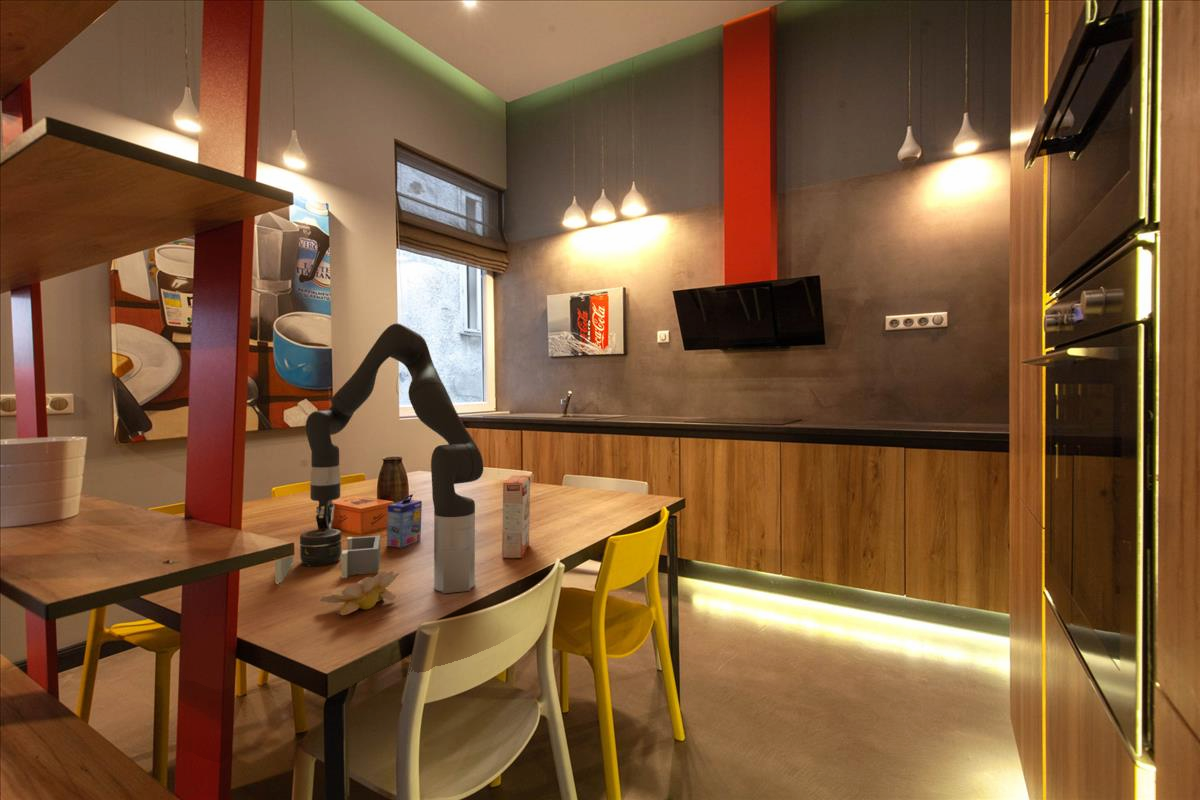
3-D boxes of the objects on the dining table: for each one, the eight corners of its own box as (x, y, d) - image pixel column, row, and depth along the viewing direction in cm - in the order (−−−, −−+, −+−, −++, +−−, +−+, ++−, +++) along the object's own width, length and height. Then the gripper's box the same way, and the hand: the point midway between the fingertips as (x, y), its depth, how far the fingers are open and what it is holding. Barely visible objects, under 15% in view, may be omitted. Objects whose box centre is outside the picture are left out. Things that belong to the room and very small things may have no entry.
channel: (377, 574, 139) (377, 550, 139) (275, 584, 132) (275, 559, 132) (380, 556, 155) (380, 534, 154) (288, 564, 147) (288, 541, 147)
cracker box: (523, 559, 153) (523, 482, 152) (501, 559, 153) (501, 482, 152) (530, 545, 167) (531, 474, 166) (510, 544, 167) (510, 474, 166)
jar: (290, 565, 146) (290, 536, 146) (318, 554, 156) (318, 527, 156) (323, 568, 144) (323, 539, 144) (349, 557, 153) (349, 529, 153)
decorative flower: (379, 581, 130) (382, 541, 128) (408, 603, 123) (412, 562, 121) (314, 605, 118) (316, 562, 116) (342, 631, 112) (345, 586, 109)
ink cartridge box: (402, 548, 162) (402, 498, 162) (386, 546, 164) (385, 497, 164) (422, 539, 172) (422, 492, 172) (407, 538, 173) (406, 491, 173)
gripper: (336, 485, 152) (335, 549, 152) (344, 477, 164) (343, 536, 165) (305, 486, 150) (305, 551, 150) (315, 478, 162) (315, 538, 163)
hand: (325, 543), depth 158 cm, fingers closed
